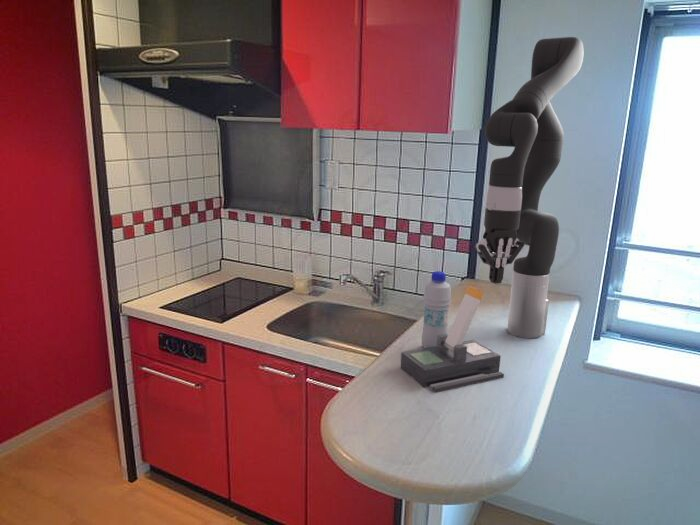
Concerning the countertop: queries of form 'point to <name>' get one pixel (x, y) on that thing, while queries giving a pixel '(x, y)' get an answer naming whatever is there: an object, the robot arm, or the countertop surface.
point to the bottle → (435, 309)
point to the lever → (463, 317)
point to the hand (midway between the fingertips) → (495, 282)
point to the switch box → (449, 362)
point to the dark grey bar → (465, 381)
